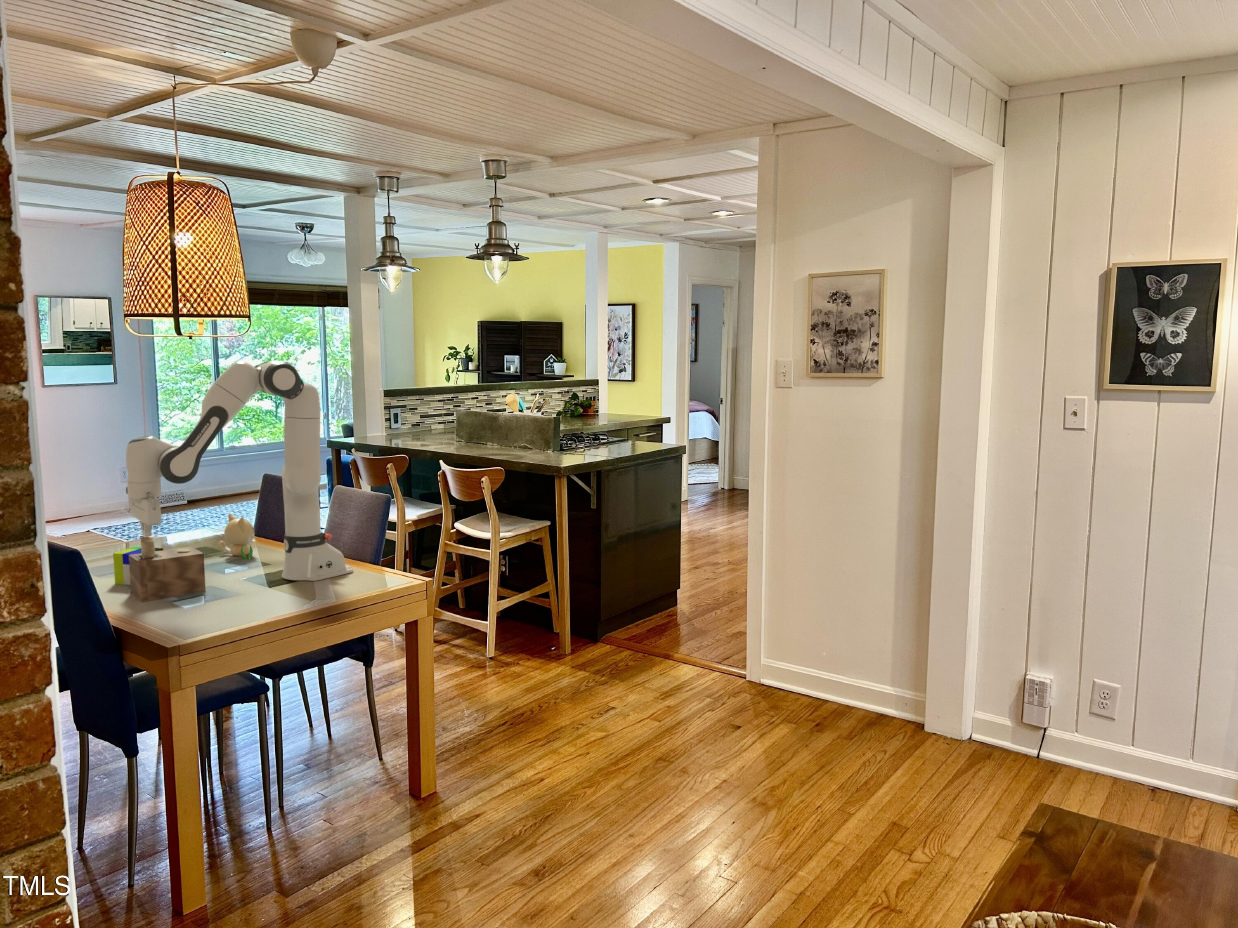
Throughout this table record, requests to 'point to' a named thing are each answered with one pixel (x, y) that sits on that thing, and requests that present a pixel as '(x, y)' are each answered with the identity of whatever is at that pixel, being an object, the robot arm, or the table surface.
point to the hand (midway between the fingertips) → (146, 535)
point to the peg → (147, 547)
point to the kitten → (238, 537)
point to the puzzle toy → (125, 564)
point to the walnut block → (167, 574)
